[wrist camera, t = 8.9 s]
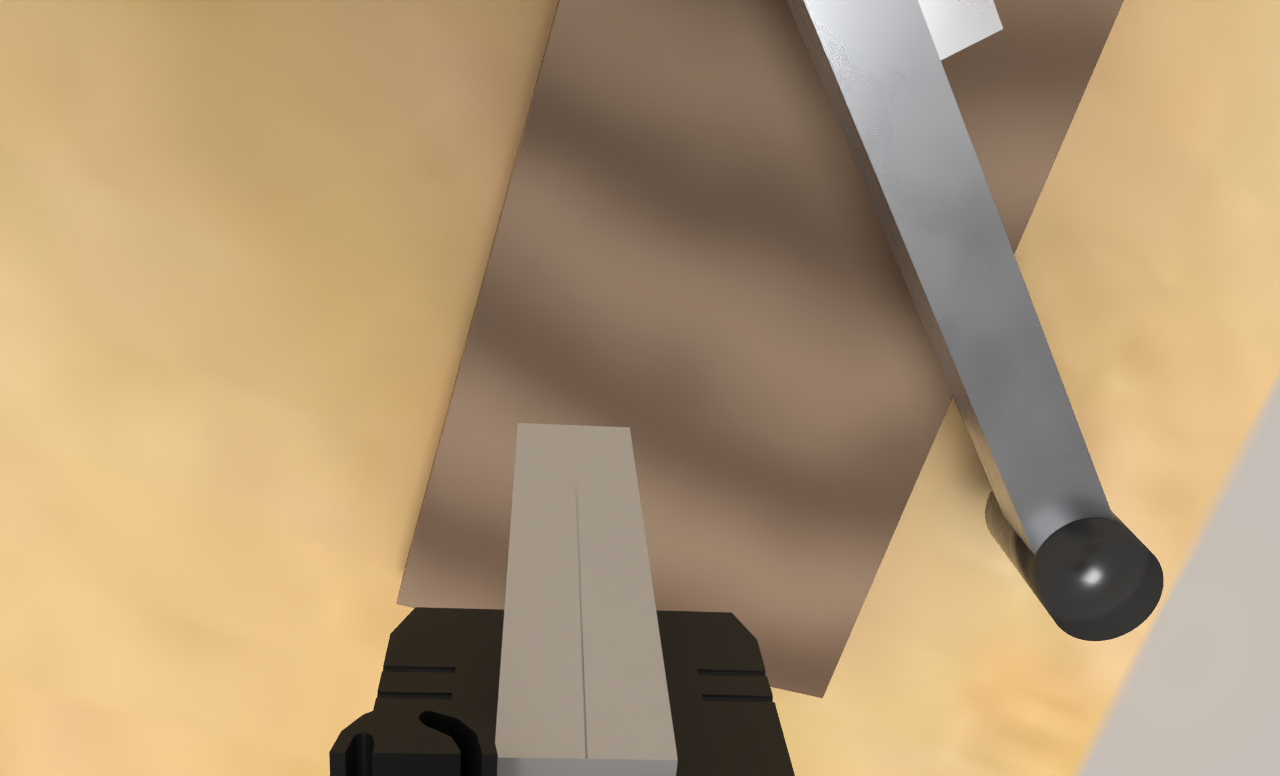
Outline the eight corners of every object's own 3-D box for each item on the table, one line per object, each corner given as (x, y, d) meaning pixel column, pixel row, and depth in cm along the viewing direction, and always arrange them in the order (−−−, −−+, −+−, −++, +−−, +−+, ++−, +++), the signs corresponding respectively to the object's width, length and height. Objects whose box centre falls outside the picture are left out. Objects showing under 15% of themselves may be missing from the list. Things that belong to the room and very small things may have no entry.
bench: (695, -507, 29) (730, -610, 23) (1215, -295, 32) (1358, -344, 26) (403, 572, 40) (379, 677, 34) (810, 664, 42) (850, 776, 37)
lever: (621, -229, 28) (636, -260, 23) (821, -338, 27) (876, -393, 23) (978, 579, 37) (1040, 671, 33) (1133, 509, 37) (1218, 592, 32)
